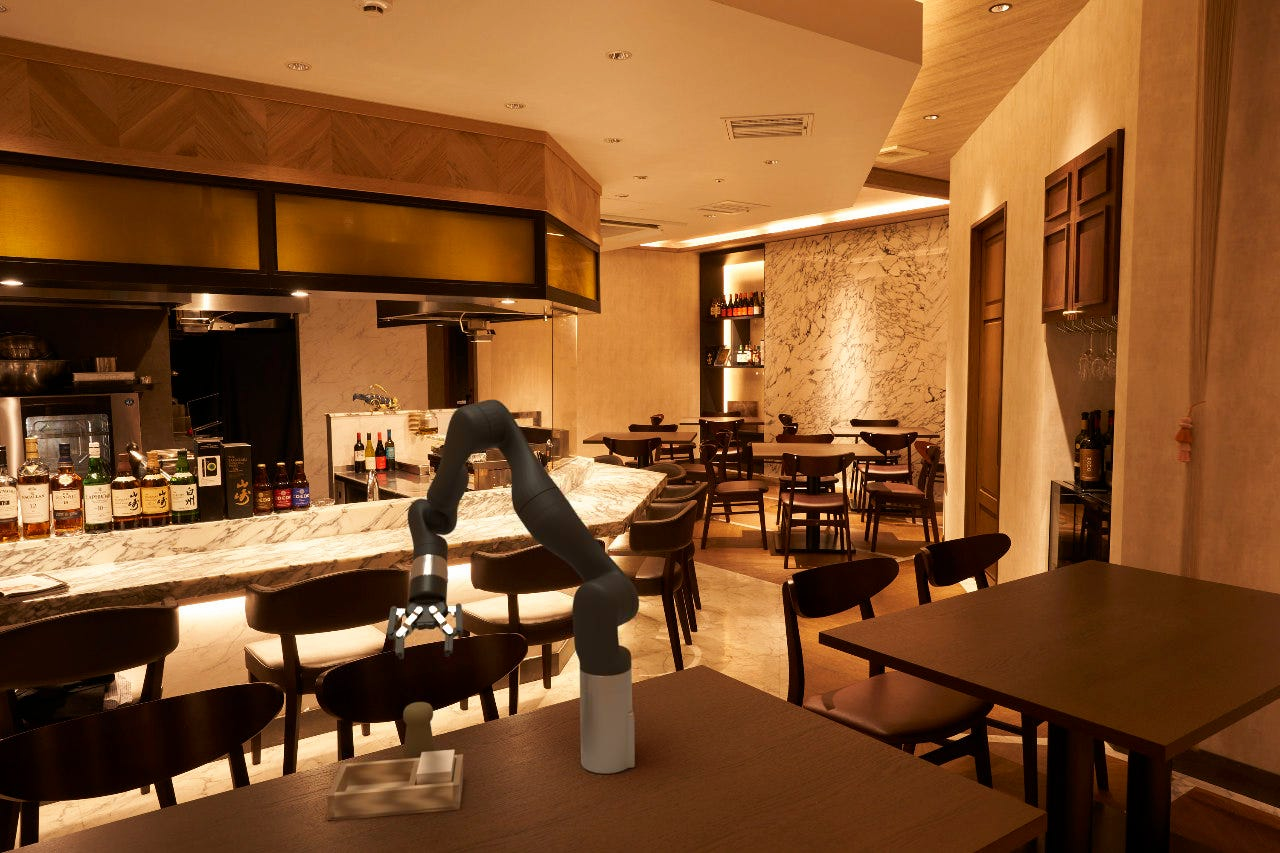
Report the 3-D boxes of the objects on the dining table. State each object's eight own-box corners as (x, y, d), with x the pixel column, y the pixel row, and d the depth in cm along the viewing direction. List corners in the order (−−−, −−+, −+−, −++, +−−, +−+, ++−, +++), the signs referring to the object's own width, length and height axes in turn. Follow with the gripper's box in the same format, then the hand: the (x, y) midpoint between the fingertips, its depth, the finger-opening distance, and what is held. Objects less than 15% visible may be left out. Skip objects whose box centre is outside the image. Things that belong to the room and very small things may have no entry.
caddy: (463, 777, 141) (462, 745, 141) (459, 809, 130) (458, 774, 130) (342, 787, 138) (341, 754, 138) (328, 821, 127) (327, 785, 127)
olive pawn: (427, 774, 142) (426, 712, 142) (395, 771, 144) (393, 710, 143) (442, 758, 148) (441, 699, 148) (411, 756, 150) (410, 697, 149)
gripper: (390, 574, 164) (382, 649, 153) (463, 571, 166) (460, 644, 155) (394, 593, 169) (387, 667, 158) (465, 590, 171) (463, 662, 161)
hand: (423, 656), depth 157 cm, fingers open, 8 cm apart
